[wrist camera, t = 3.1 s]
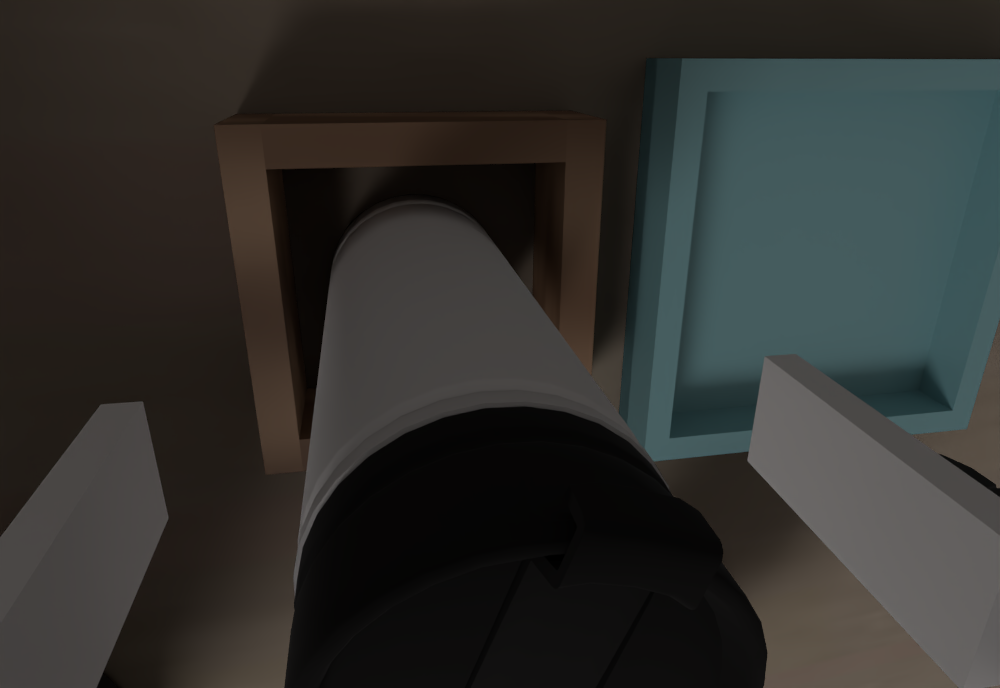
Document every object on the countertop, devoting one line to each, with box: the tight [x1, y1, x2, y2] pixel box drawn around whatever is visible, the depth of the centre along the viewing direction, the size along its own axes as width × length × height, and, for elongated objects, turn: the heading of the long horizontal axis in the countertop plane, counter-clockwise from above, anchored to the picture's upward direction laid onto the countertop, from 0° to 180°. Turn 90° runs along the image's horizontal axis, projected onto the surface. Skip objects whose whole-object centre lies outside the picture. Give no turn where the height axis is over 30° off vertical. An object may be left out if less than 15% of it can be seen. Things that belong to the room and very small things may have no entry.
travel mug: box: [285, 195, 767, 688], centre depth 17 cm, size 6×7×20 cm
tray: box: [619, 58, 1000, 461], centre depth 28 cm, size 15×15×3 cm
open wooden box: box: [214, 111, 607, 475], centre depth 24 cm, size 12×12×4 cm
